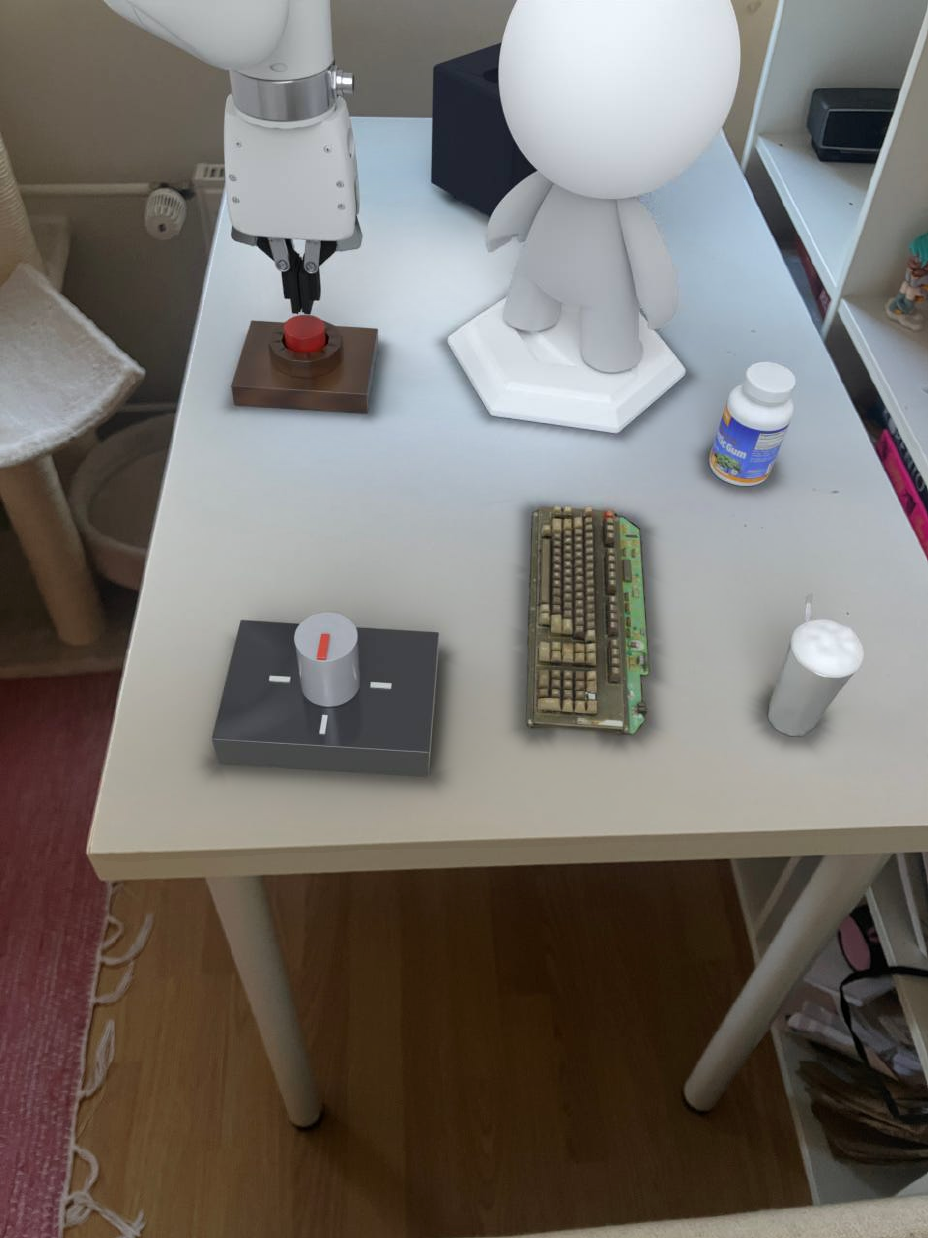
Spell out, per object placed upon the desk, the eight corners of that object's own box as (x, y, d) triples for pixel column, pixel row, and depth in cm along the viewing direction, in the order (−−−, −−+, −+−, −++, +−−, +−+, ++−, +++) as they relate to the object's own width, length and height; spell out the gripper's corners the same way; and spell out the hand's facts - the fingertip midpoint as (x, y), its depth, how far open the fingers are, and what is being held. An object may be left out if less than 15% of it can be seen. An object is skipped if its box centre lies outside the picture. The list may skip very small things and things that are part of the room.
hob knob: (305, 656, 69) (299, 606, 65) (363, 661, 69) (361, 611, 65) (295, 704, 66) (288, 655, 62) (356, 709, 66) (353, 660, 62)
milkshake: (793, 675, 73) (839, 585, 66) (835, 734, 70) (888, 646, 62) (739, 692, 72) (779, 602, 64) (780, 752, 69) (827, 665, 61)
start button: (282, 353, 89) (280, 336, 88) (288, 329, 92) (287, 312, 90) (323, 355, 89) (321, 339, 88) (328, 332, 92) (327, 315, 90)
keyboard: (531, 510, 83) (534, 491, 82) (639, 519, 83) (644, 501, 82) (522, 728, 69) (525, 712, 68) (653, 740, 69) (658, 723, 68)
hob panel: (217, 764, 66) (210, 737, 64) (245, 645, 73) (240, 617, 70) (428, 777, 67) (429, 751, 64) (438, 657, 73) (439, 630, 70)
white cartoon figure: (715, 349, 99) (831, -63, 72) (580, 466, 87) (659, 24, 60) (551, 272, 106) (601, -127, 79) (408, 369, 94) (409, -61, 68)
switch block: (234, 405, 90) (228, 368, 87) (253, 339, 96) (248, 302, 93) (367, 413, 90) (366, 377, 87) (378, 347, 97) (377, 311, 93)
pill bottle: (696, 455, 88) (723, 363, 81) (746, 440, 90) (777, 349, 83) (731, 495, 85) (762, 403, 78) (782, 478, 87) (818, 387, 80)
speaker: (557, 141, 126) (572, 9, 114) (635, 181, 120) (659, 46, 108) (428, 195, 116) (431, 56, 104) (507, 241, 110) (518, 99, 98)
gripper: (389, 70, 76) (392, 286, 90) (192, 58, 76) (226, 276, 90) (379, 115, 71) (385, 335, 85) (169, 102, 71) (209, 325, 85)
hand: (303, 304), depth 88 cm, fingers closed
